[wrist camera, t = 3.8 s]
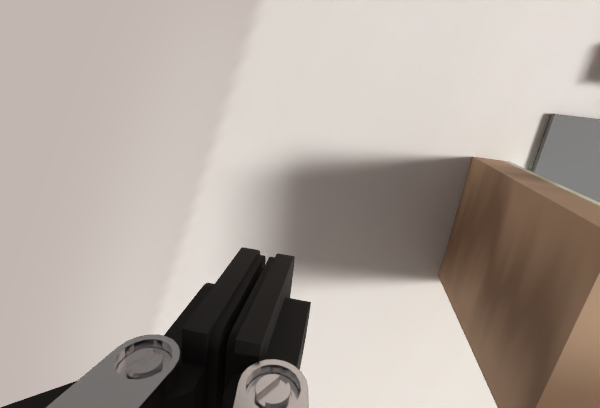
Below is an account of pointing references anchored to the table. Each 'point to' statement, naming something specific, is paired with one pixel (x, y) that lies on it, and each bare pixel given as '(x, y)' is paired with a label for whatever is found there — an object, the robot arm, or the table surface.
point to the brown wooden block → (527, 286)
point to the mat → (571, 154)
